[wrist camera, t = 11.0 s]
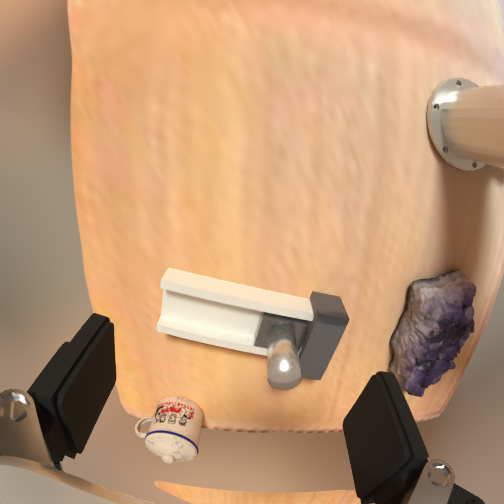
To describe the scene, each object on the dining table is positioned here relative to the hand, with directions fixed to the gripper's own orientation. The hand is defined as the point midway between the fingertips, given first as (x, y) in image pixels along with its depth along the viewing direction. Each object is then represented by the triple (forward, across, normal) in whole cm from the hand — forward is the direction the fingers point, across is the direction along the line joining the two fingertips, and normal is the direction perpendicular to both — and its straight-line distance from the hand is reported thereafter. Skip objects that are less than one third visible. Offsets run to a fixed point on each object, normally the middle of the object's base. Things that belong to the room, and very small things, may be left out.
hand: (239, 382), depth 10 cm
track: (+28, -3, +15) cm, 32 cm away
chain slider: (+27, -9, +15) cm, 32 cm away
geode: (+29, -30, +12) cm, 43 cm away
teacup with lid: (+28, +6, +40) cm, 49 cm away
